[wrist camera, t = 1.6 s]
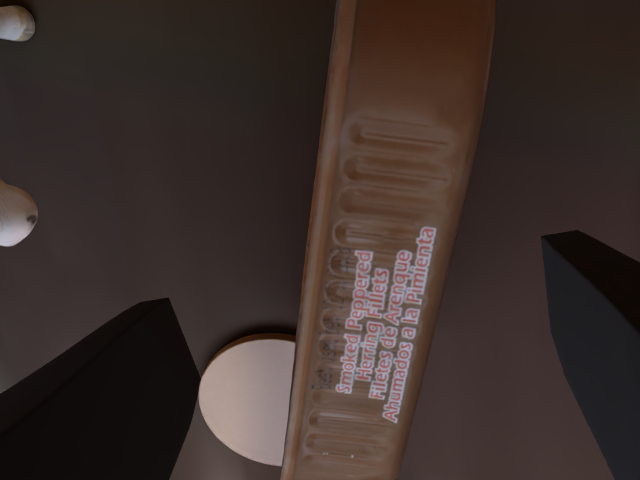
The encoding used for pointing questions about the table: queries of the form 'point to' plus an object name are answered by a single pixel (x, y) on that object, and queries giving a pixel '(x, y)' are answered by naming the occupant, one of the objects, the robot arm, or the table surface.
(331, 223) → the tin
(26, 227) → the bull figurine
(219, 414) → the cork coaster
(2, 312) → the table surface
